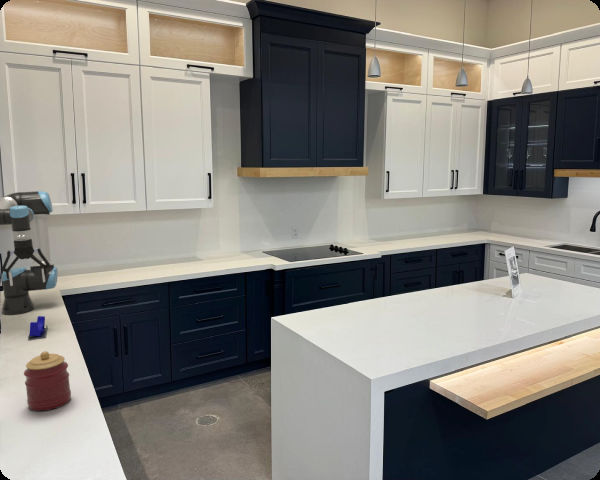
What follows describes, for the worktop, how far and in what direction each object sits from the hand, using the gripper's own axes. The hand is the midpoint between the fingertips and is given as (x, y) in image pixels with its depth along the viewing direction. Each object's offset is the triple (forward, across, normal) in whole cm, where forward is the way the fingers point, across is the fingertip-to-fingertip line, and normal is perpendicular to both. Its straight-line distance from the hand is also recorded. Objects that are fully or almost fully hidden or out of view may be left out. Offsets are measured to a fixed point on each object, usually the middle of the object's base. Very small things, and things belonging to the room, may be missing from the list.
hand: (28, 283), depth 236 cm
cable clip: (+22, +3, -9) cm, 24 cm away
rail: (+23, +2, -9) cm, 25 cm away
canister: (+20, +11, -88) cm, 91 cm away
